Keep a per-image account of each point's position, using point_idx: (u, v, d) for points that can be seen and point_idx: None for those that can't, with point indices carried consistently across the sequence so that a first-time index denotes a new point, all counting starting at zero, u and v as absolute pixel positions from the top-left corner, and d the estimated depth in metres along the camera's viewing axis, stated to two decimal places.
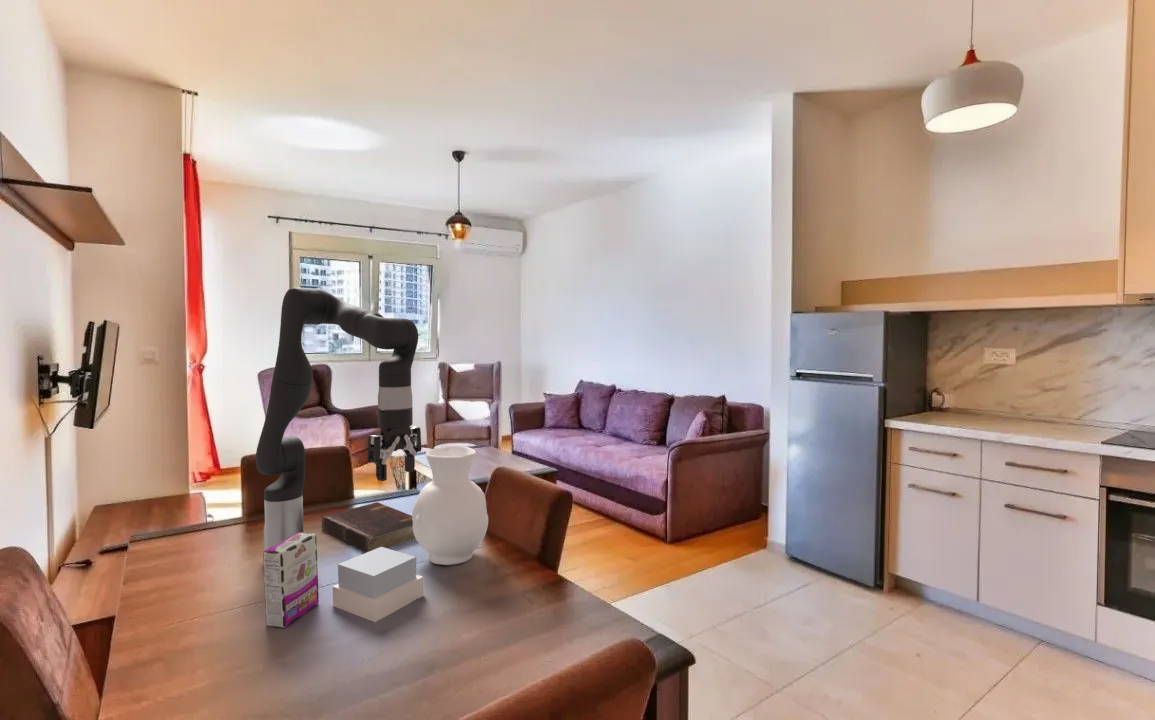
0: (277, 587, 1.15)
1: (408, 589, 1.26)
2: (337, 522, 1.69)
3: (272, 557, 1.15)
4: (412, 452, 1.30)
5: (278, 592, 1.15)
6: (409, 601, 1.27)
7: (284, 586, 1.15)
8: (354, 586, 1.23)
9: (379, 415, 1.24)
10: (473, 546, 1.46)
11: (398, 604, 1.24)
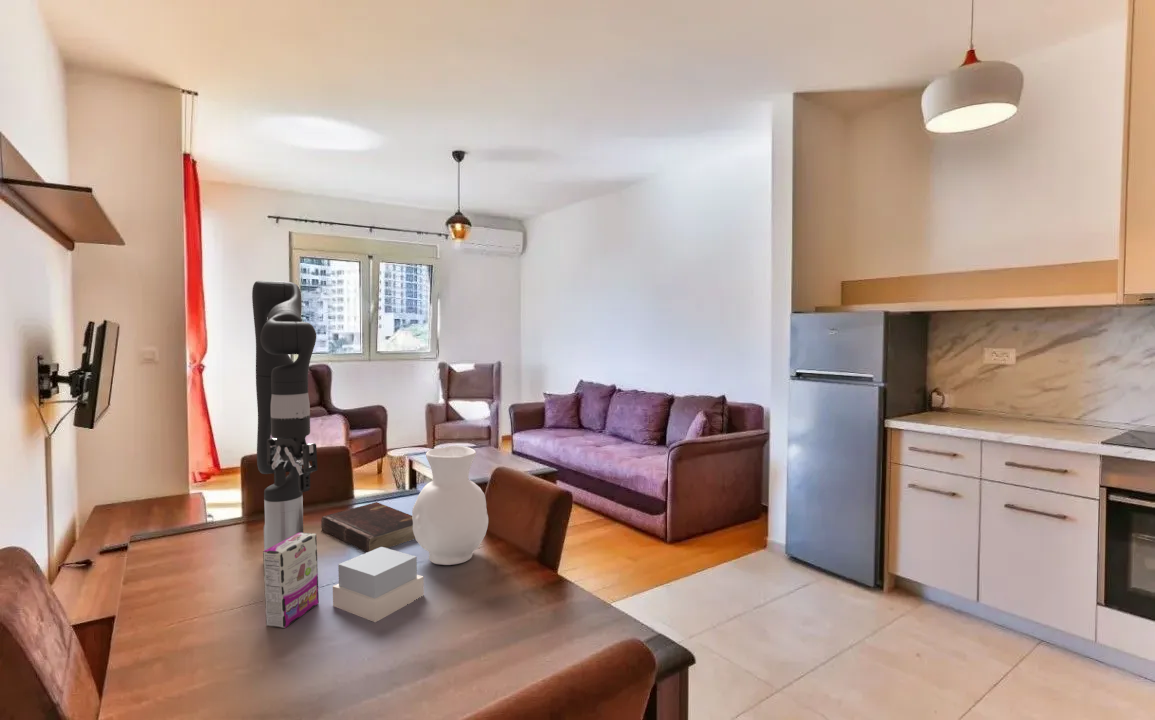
0: (277, 587, 1.15)
1: (408, 589, 1.26)
2: (337, 522, 1.68)
3: (273, 557, 1.15)
4: None
5: (278, 592, 1.15)
6: (409, 601, 1.27)
7: (284, 586, 1.15)
8: (354, 586, 1.22)
9: (294, 425, 1.17)
10: (473, 546, 1.46)
11: (398, 604, 1.24)
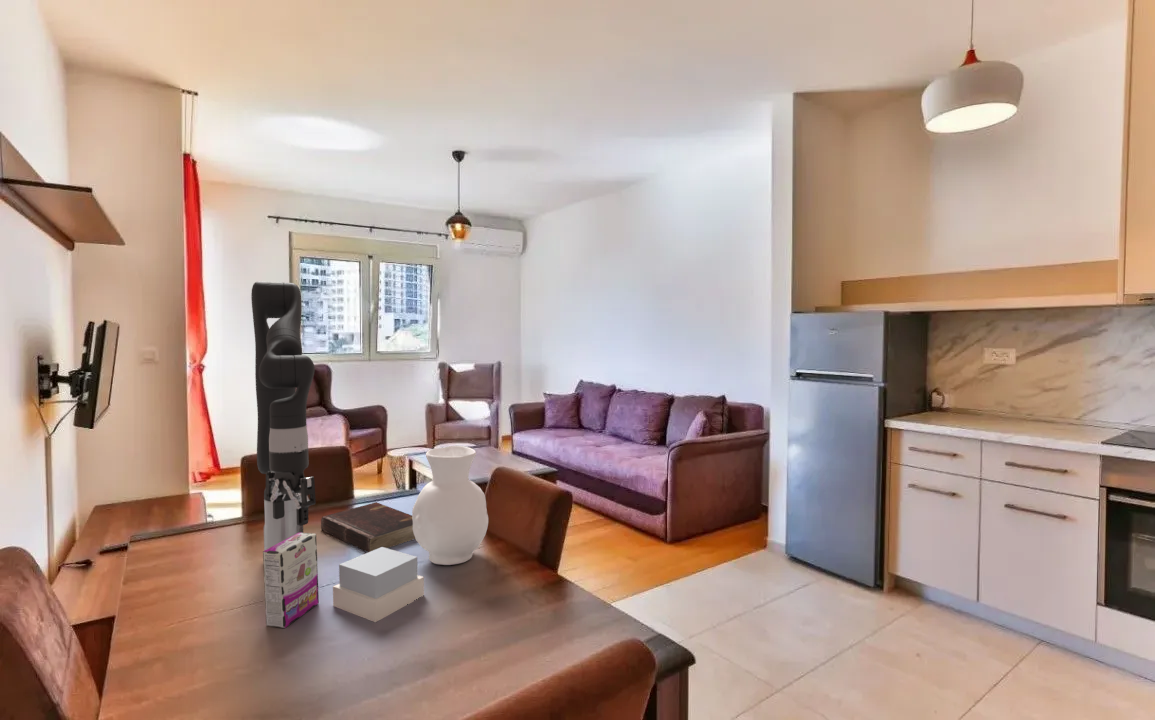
0: (277, 587, 1.15)
1: (408, 589, 1.26)
2: (337, 522, 1.68)
3: (272, 557, 1.15)
4: None
5: (278, 592, 1.15)
6: (409, 601, 1.27)
7: (284, 586, 1.15)
8: (355, 586, 1.22)
9: (292, 458, 1.17)
10: (473, 546, 1.46)
11: (398, 604, 1.24)
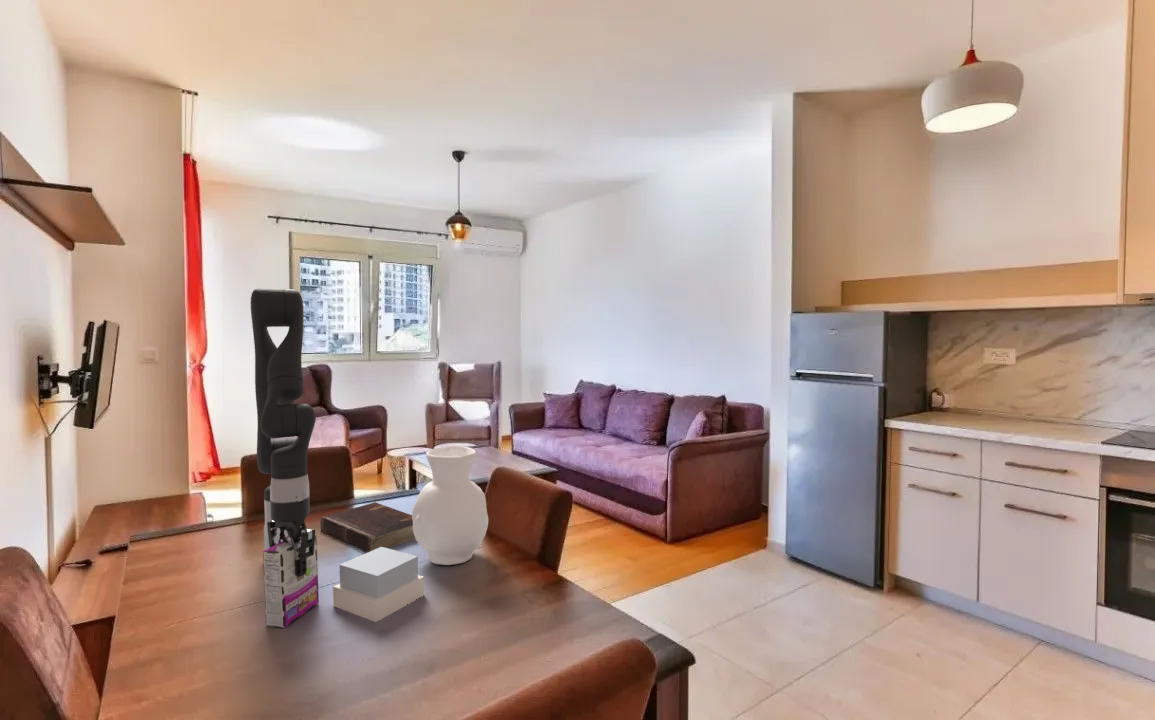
0: (277, 587, 1.15)
1: (408, 589, 1.26)
2: (337, 522, 1.68)
3: (273, 556, 1.15)
4: None
5: (278, 592, 1.15)
6: (410, 601, 1.27)
7: (284, 586, 1.15)
8: (356, 586, 1.22)
9: (294, 508, 1.17)
10: (473, 546, 1.46)
11: (399, 604, 1.24)
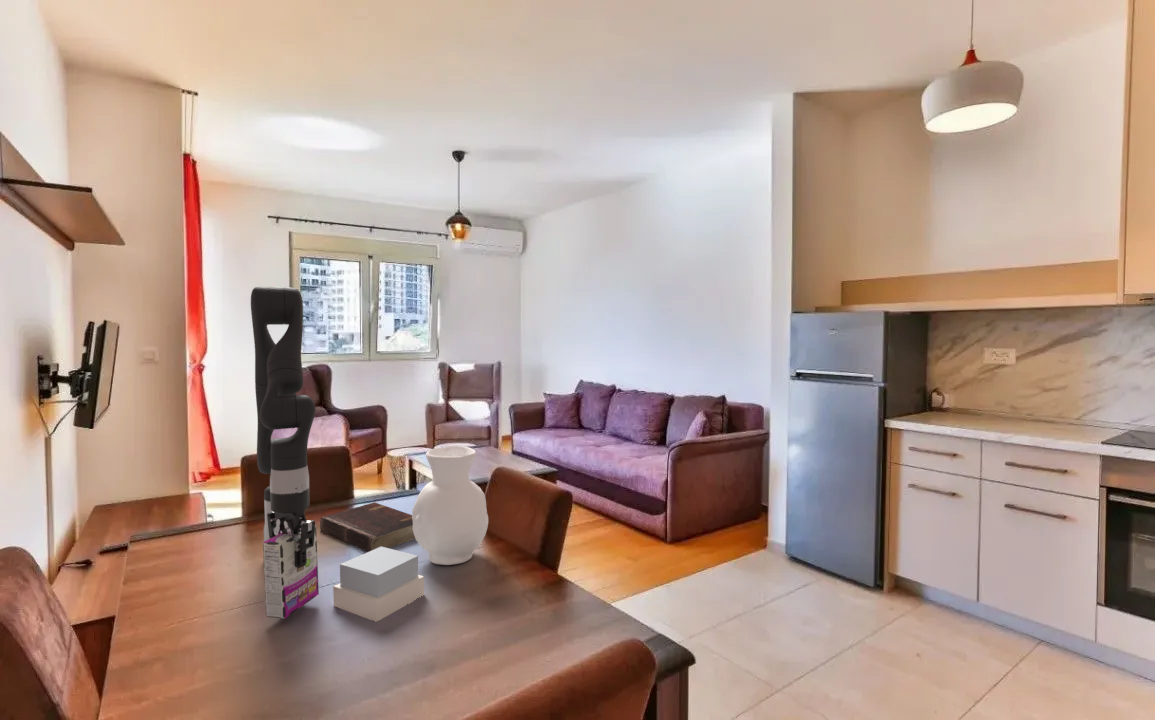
0: (276, 578, 1.15)
1: (408, 589, 1.26)
2: (337, 522, 1.68)
3: (272, 548, 1.15)
4: None
5: (278, 583, 1.15)
6: (410, 601, 1.27)
7: (284, 577, 1.16)
8: (357, 585, 1.23)
9: (293, 500, 1.17)
10: (473, 546, 1.46)
11: (399, 604, 1.24)
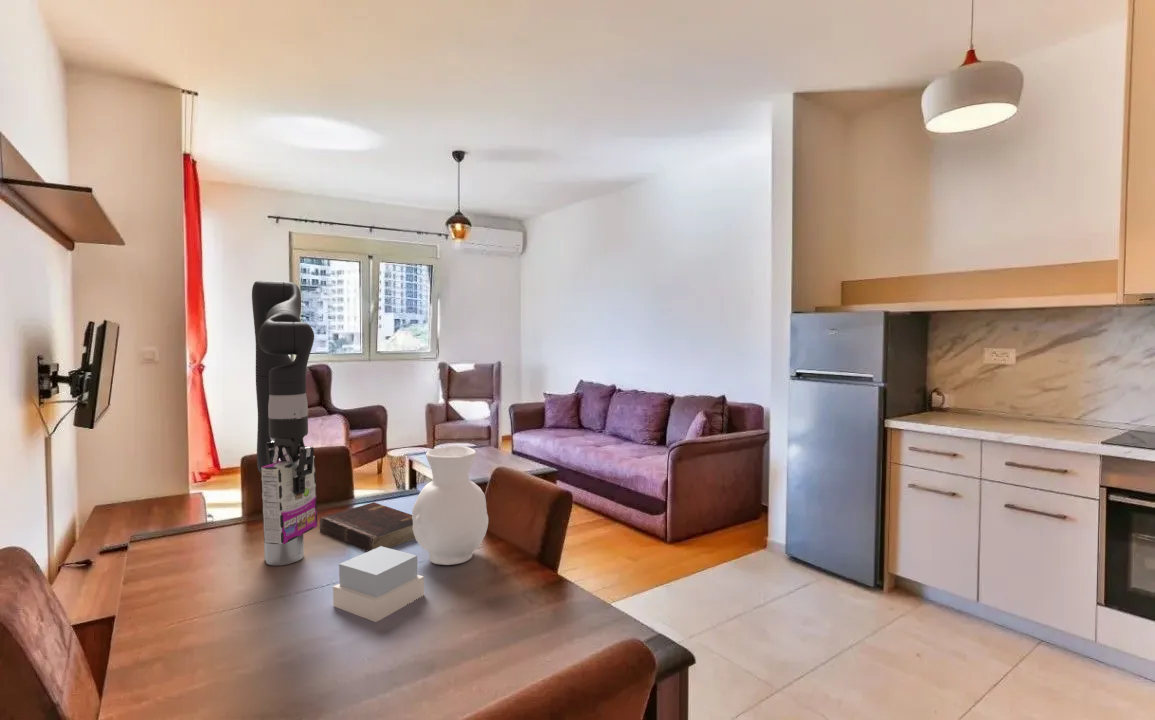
0: (275, 503, 1.15)
1: (408, 589, 1.26)
2: (337, 523, 1.68)
3: (270, 472, 1.14)
4: None
5: (276, 508, 1.15)
6: (410, 601, 1.27)
7: (282, 502, 1.15)
8: (356, 585, 1.23)
9: (292, 425, 1.16)
10: (473, 546, 1.46)
11: (399, 604, 1.24)
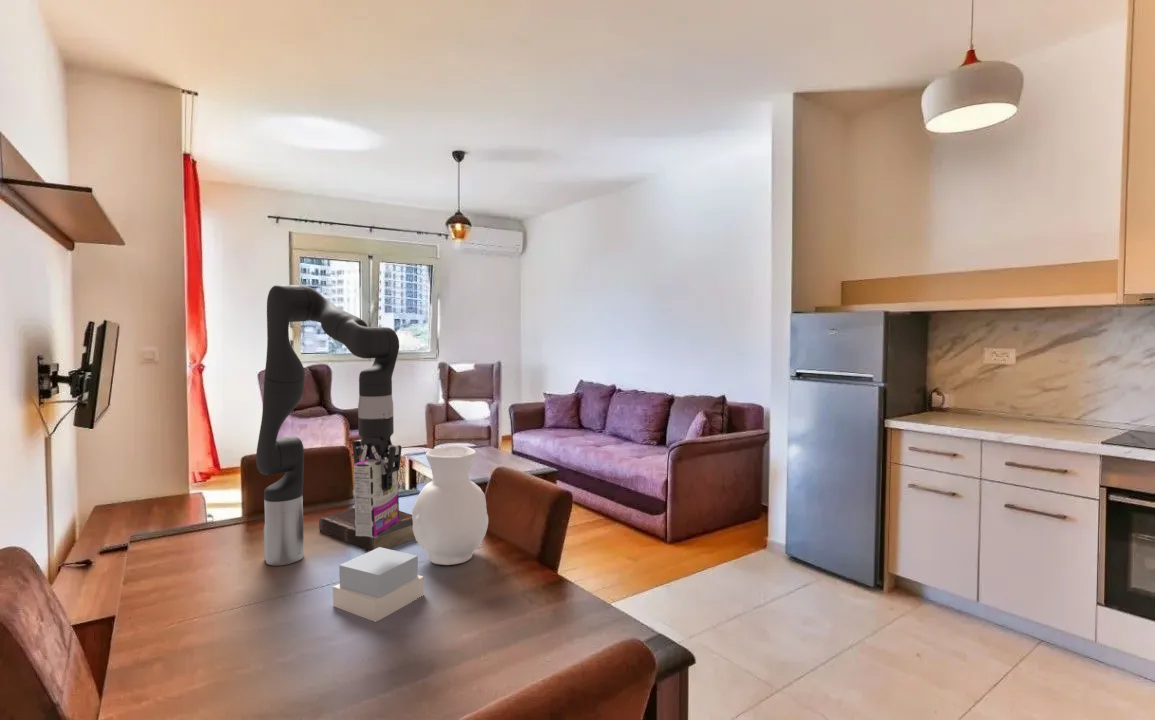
0: (366, 498, 1.21)
1: (408, 589, 1.26)
2: (337, 523, 1.68)
3: (362, 469, 1.21)
4: None
5: (368, 503, 1.21)
6: (409, 601, 1.27)
7: (373, 497, 1.21)
8: (357, 586, 1.22)
9: (381, 425, 1.23)
10: (473, 546, 1.46)
11: (398, 604, 1.24)
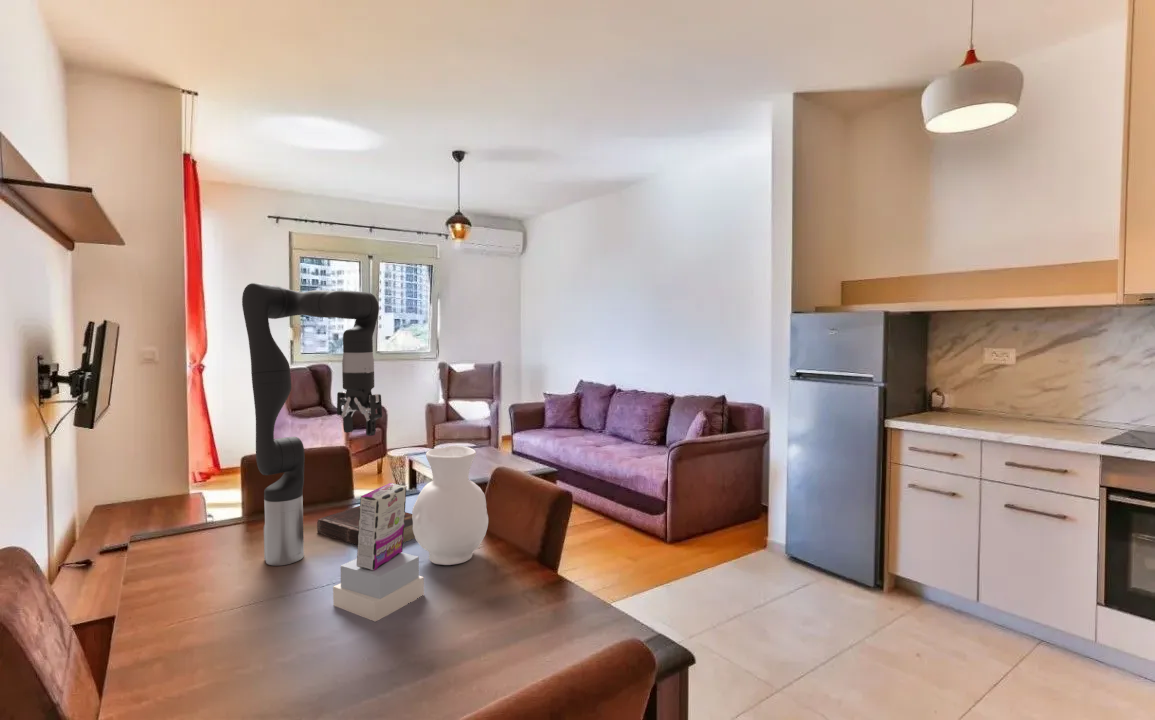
0: (370, 532, 1.21)
1: (408, 589, 1.26)
2: (337, 524, 1.67)
3: (369, 502, 1.21)
4: None
5: (371, 537, 1.21)
6: (409, 601, 1.27)
7: (377, 531, 1.21)
8: (358, 587, 1.22)
9: (363, 378, 1.38)
10: (473, 546, 1.46)
11: (398, 605, 1.24)
